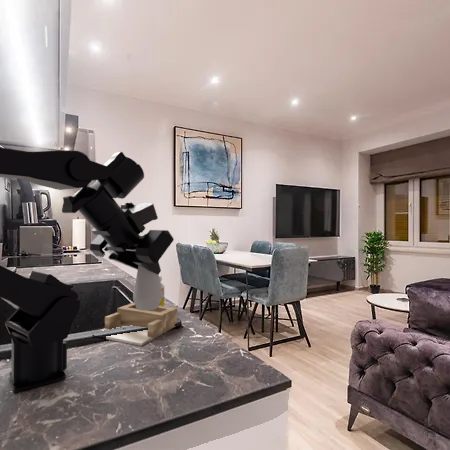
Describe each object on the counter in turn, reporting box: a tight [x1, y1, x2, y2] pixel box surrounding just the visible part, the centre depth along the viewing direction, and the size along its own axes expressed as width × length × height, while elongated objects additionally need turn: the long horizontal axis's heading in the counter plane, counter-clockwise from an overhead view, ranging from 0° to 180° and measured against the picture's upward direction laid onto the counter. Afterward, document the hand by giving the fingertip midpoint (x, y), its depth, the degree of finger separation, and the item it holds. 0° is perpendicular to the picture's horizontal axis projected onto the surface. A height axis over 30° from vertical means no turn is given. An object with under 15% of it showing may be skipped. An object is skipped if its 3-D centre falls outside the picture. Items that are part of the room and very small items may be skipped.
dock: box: [101, 302, 178, 347], centre depth 67 cm, size 13×12×4 cm
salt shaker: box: [132, 266, 162, 311], centre depth 63 cm, size 6×6×13 cm
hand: (152, 271), depth 64 cm, fingers closed on salt shaker, 3 cm apart
